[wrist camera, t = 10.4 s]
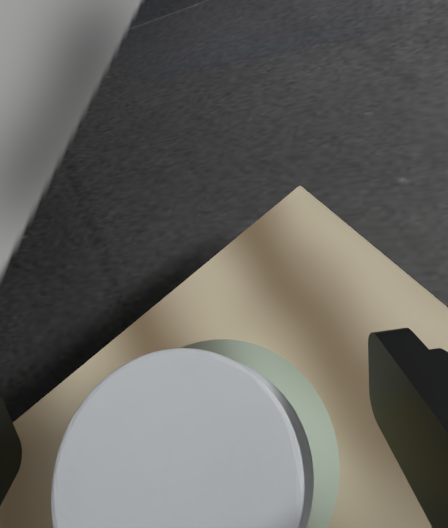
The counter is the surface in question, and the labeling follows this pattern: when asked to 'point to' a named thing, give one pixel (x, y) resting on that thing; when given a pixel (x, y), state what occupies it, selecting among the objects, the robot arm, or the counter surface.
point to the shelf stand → (272, 358)
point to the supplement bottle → (183, 449)
